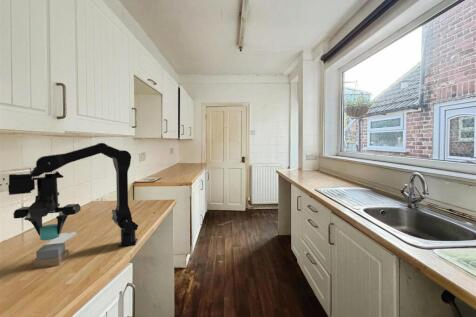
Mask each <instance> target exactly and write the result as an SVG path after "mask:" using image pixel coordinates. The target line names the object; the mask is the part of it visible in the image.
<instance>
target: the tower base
mask: <svg viewBox="0 0 476 317" xmlns="http://www.w3.org/2000/svg"><path fill="white" fill-rule="evenodd" d="M69 256H70V251H69V249H65V251H64V252H63V253H62V254H61V256H60V257H59V258H51V259H43V260H37V257H35V258H34V259H33V260H32V269H38V268H46V267H56V266H57V267H59V266H60V265H61V264H62V263H64V262H65V260H66V259H67V258H68V257H69Z"/></svg>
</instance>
